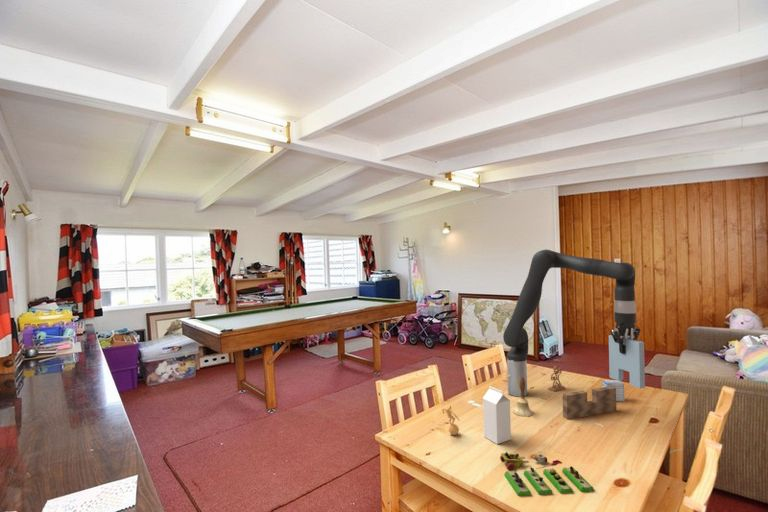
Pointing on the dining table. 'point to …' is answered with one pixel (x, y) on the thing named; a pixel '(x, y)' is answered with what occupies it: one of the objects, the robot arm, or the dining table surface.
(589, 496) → the dining table surface
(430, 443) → the dining table surface
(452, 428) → the figurine
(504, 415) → the milk carton
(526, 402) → the hand bell
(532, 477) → the toy garden set
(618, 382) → the medicine box
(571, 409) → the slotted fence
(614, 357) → the blue-gray tapered panel
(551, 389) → the tan statuette
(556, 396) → the dining table surface
